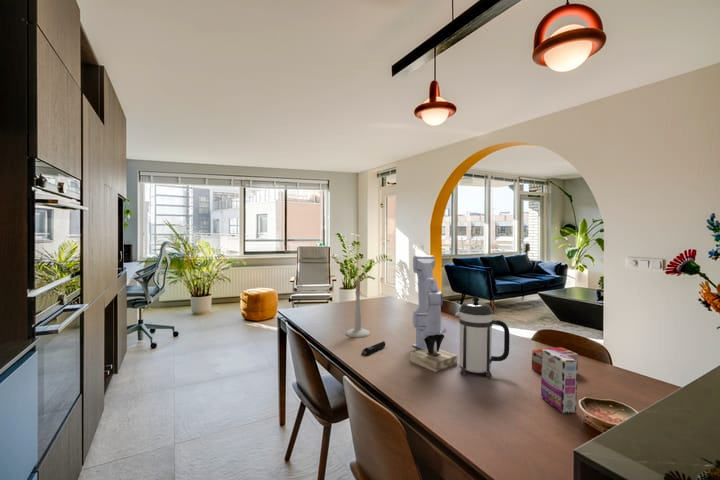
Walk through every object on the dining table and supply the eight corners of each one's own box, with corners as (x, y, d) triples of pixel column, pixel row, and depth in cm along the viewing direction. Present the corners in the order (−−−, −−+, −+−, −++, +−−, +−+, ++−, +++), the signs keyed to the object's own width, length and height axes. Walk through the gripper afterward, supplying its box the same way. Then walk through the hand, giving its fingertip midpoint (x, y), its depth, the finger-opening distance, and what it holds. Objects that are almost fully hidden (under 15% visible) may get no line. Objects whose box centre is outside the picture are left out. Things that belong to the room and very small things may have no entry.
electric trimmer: (387, 348, 165) (387, 341, 165) (367, 357, 153) (367, 349, 153) (381, 346, 167) (381, 340, 167) (360, 355, 155) (360, 348, 155)
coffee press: (477, 383, 126) (478, 302, 125) (447, 367, 140) (448, 294, 140) (510, 374, 134) (511, 298, 133) (478, 360, 148) (479, 291, 148)
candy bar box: (577, 413, 106) (578, 360, 105) (562, 414, 105) (563, 361, 105) (554, 396, 117) (555, 348, 117) (540, 396, 117) (541, 348, 116)
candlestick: (374, 333, 188) (374, 278, 187) (361, 339, 177) (361, 281, 176) (354, 329, 195) (354, 276, 194) (341, 335, 184) (341, 279, 183)
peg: (431, 355, 149) (431, 338, 149) (438, 356, 147) (438, 340, 146) (427, 357, 146) (427, 340, 146) (434, 358, 144) (434, 342, 144)
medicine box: (546, 377, 132) (547, 357, 132) (531, 369, 140) (531, 349, 140) (578, 373, 136) (578, 353, 136) (561, 365, 144) (561, 346, 144)
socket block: (431, 353, 156) (431, 346, 156) (457, 363, 145) (457, 355, 145) (409, 361, 148) (409, 353, 147) (435, 371, 137) (435, 363, 136)
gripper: (429, 325, 138) (429, 358, 139) (452, 319, 147) (451, 351, 148) (416, 321, 144) (416, 353, 144) (439, 316, 153) (438, 346, 153)
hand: (433, 352), depth 146 cm, fingers closed on peg, 3 cm apart
